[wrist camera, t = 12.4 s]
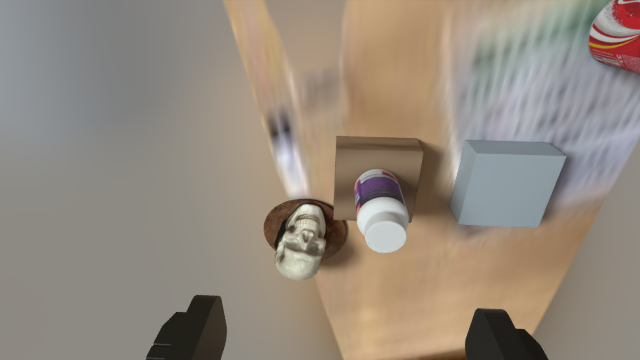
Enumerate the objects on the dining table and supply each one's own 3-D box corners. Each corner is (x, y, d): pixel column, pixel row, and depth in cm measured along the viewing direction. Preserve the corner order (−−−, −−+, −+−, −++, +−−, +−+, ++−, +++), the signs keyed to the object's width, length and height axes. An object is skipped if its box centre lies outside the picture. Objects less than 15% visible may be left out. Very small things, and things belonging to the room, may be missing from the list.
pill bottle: (347, 177, 41) (349, 226, 33) (389, 160, 40) (403, 207, 31) (364, 211, 43) (370, 265, 35) (404, 196, 42) (421, 249, 34)
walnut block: (336, 136, 43) (336, 148, 39) (416, 138, 43) (423, 151, 39) (333, 203, 48) (333, 219, 44) (405, 205, 47) (411, 222, 44)
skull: (268, 186, 46) (314, 236, 40) (323, 181, 53) (368, 222, 47) (246, 252, 51) (283, 304, 45) (298, 239, 58) (336, 282, 52)
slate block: (465, 139, 42) (476, 153, 39) (547, 142, 42) (566, 156, 39) (449, 207, 47) (458, 224, 44) (523, 209, 47) (537, 227, 43)
